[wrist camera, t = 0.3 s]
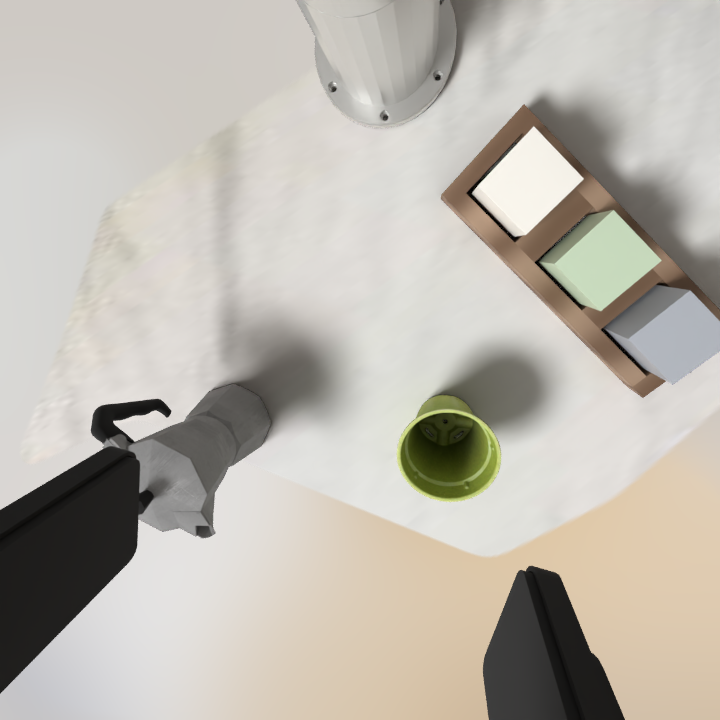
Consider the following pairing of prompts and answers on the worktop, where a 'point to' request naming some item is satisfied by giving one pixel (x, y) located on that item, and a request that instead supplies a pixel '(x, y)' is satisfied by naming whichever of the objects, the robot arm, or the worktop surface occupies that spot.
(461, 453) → the plant pot
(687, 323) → the grey button
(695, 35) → the worktop surface
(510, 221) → the white button
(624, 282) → the sage button
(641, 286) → the button housing
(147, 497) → the coffeepot
